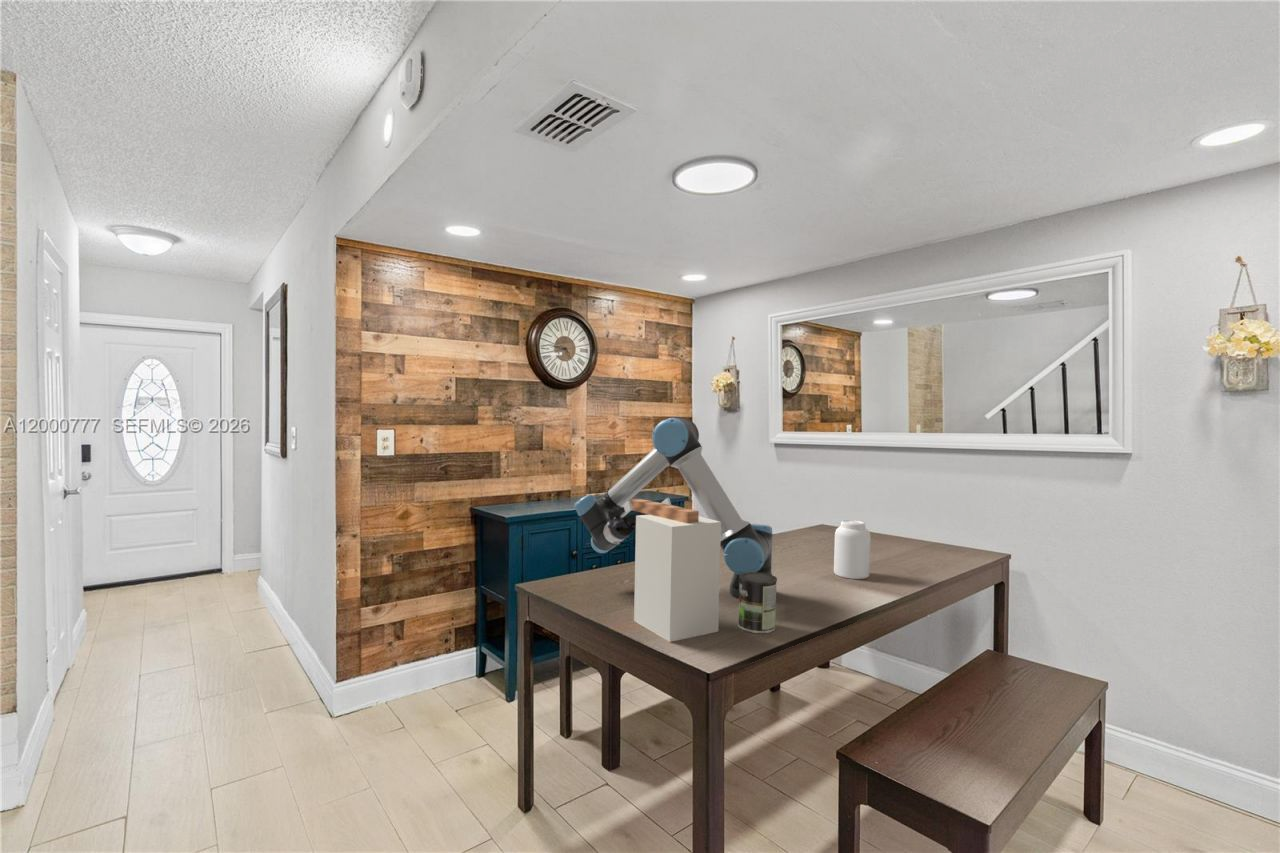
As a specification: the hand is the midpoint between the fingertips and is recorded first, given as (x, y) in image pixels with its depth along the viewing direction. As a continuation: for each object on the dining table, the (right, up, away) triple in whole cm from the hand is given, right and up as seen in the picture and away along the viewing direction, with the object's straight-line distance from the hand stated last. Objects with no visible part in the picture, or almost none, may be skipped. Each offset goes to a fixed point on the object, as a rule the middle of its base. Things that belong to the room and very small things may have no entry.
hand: (650, 503), depth 183 cm
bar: (+3, -3, -7) cm, 8 cm away
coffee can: (+29, -33, -10) cm, 46 cm away
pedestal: (+7, -33, -11) cm, 35 cm away
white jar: (+75, -33, +47) cm, 94 cm away
